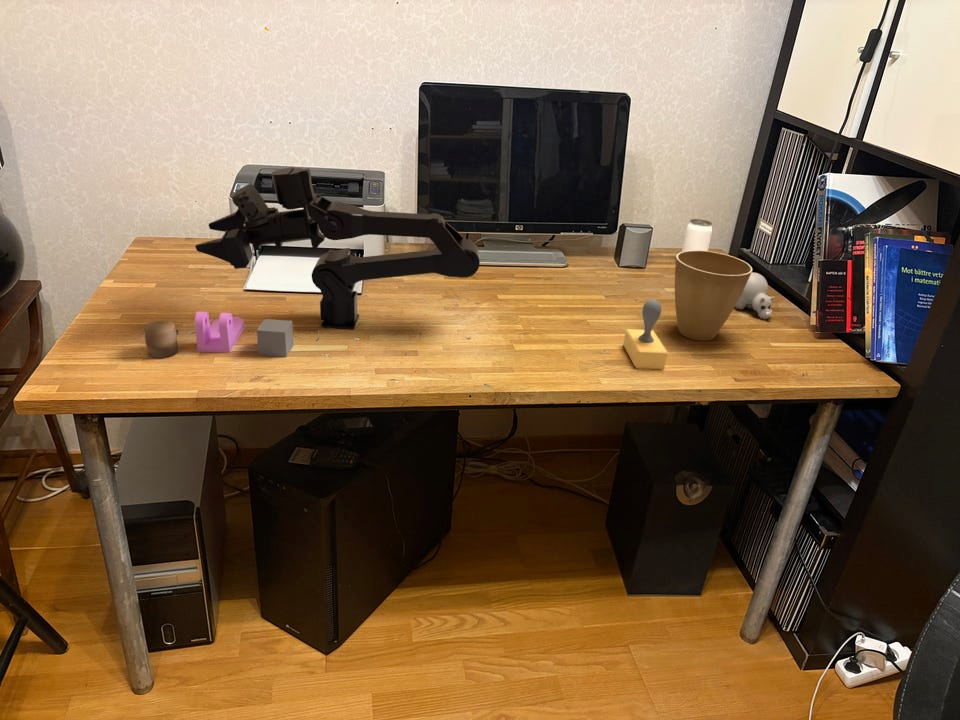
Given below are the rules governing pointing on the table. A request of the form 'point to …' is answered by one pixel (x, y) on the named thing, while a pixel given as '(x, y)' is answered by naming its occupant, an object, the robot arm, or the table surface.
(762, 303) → the chubby cartoon animal
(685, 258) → the plant pot
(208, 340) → the bracket
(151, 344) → the walnut cylinder
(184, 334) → the table surface
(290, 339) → the grey cube
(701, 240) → the can
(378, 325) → the table surface
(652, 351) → the rubber stamp
